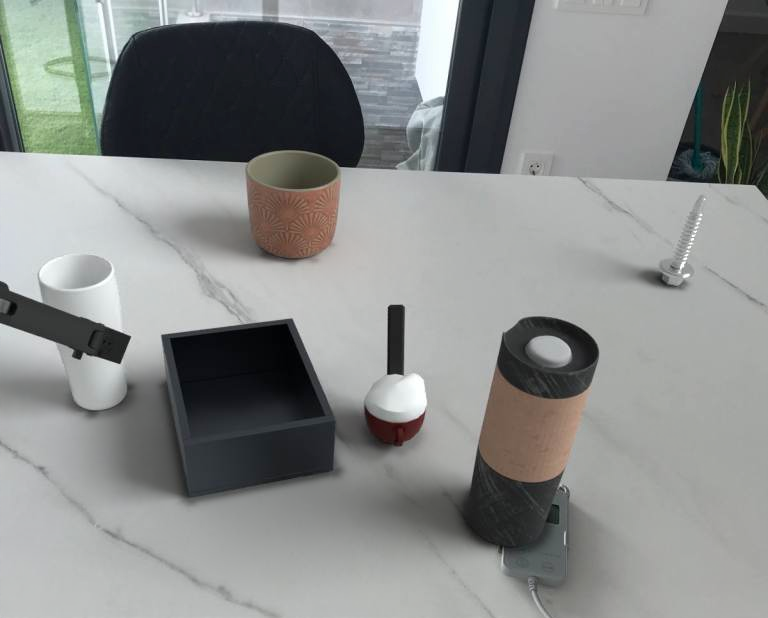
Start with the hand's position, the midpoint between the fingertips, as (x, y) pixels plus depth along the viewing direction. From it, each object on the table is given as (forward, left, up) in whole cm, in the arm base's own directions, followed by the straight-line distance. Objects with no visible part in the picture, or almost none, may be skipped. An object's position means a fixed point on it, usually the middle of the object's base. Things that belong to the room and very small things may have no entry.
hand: (62, 326), depth 71 cm
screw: (-9, +78, -11) cm, 79 cm away
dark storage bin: (+6, +16, -11) cm, 20 cm away
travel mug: (+24, +36, -11) cm, 44 cm away
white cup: (-2, +2, -11) cm, 11 cm away
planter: (-29, +29, -11) cm, 43 cm away
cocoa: (+10, +30, -11) cm, 33 cm away
